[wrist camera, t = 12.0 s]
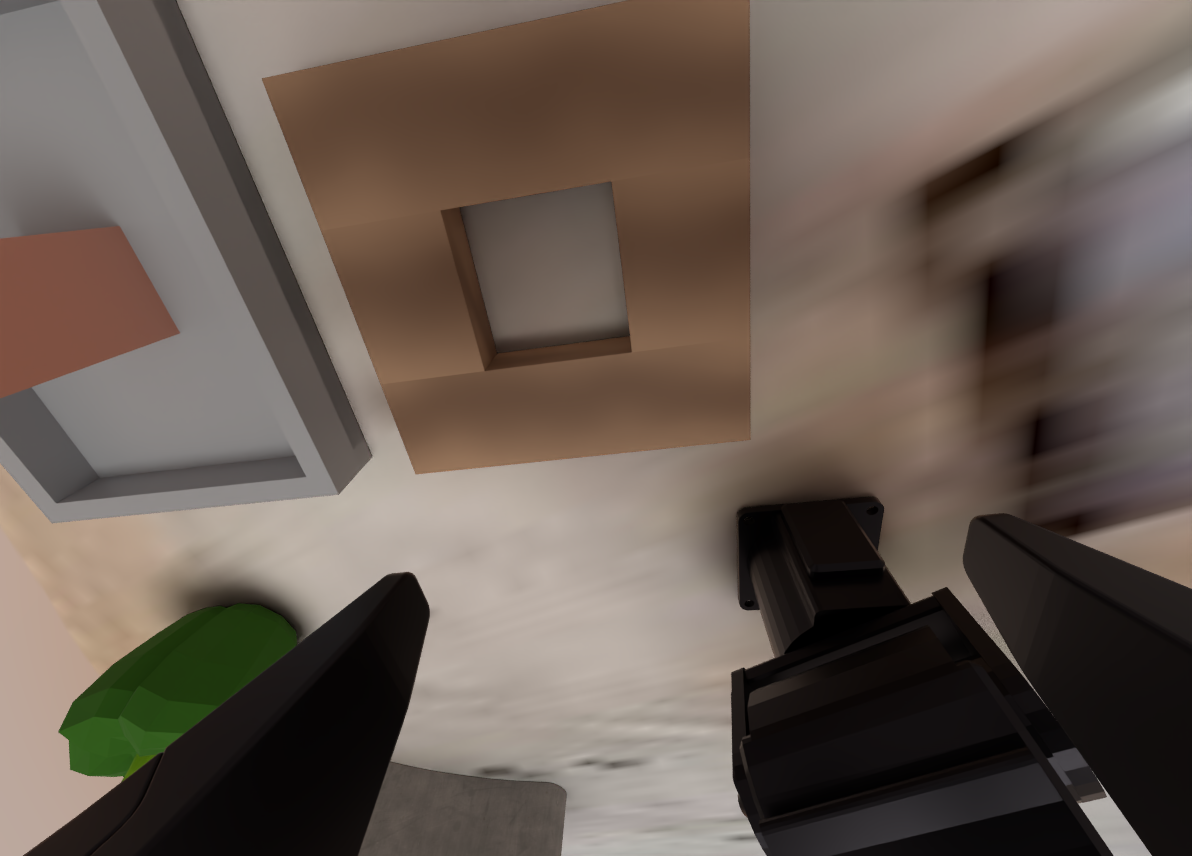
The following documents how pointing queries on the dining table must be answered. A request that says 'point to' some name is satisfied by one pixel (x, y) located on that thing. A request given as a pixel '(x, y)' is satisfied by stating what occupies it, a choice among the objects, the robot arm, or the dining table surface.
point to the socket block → (532, 166)
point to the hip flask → (463, 816)
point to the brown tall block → (72, 304)
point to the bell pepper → (171, 686)
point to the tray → (159, 279)
